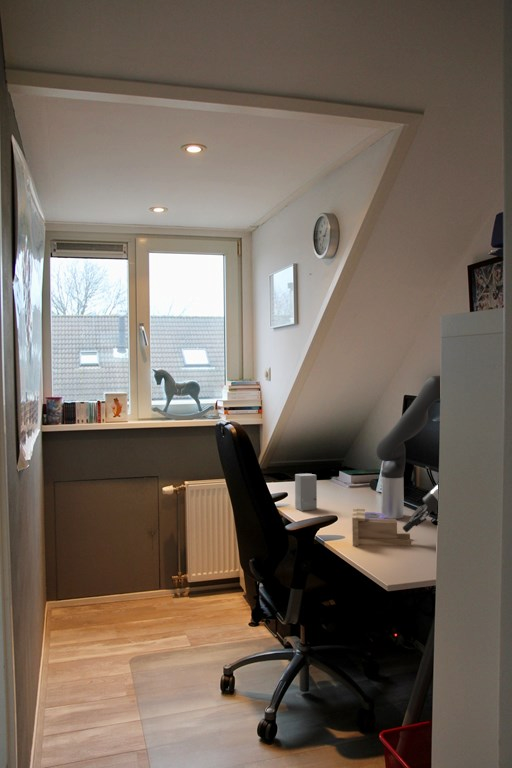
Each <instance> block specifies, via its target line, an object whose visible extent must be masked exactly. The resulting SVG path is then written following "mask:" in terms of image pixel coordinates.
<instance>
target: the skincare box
mask: <svg viewBox="0 0 512 768" xmlns="http://www.w3.org/2000/svg"><path fill="white" fill-rule="evenodd" d="M317 482H318V480H317V474H312V473H295V474H294V495H295V496H294V498H295V500H294V501H295V502H294V503H295V505H294V508H295V509H296V510H299V511H301V512H303V511H306V512H307V511H312V510H318V507H317V505H318V503H317V502H318V501H317V499H318V498H317V496H318V495H317V493H318V492H317V488H318V487H317Z"/></svg>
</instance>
